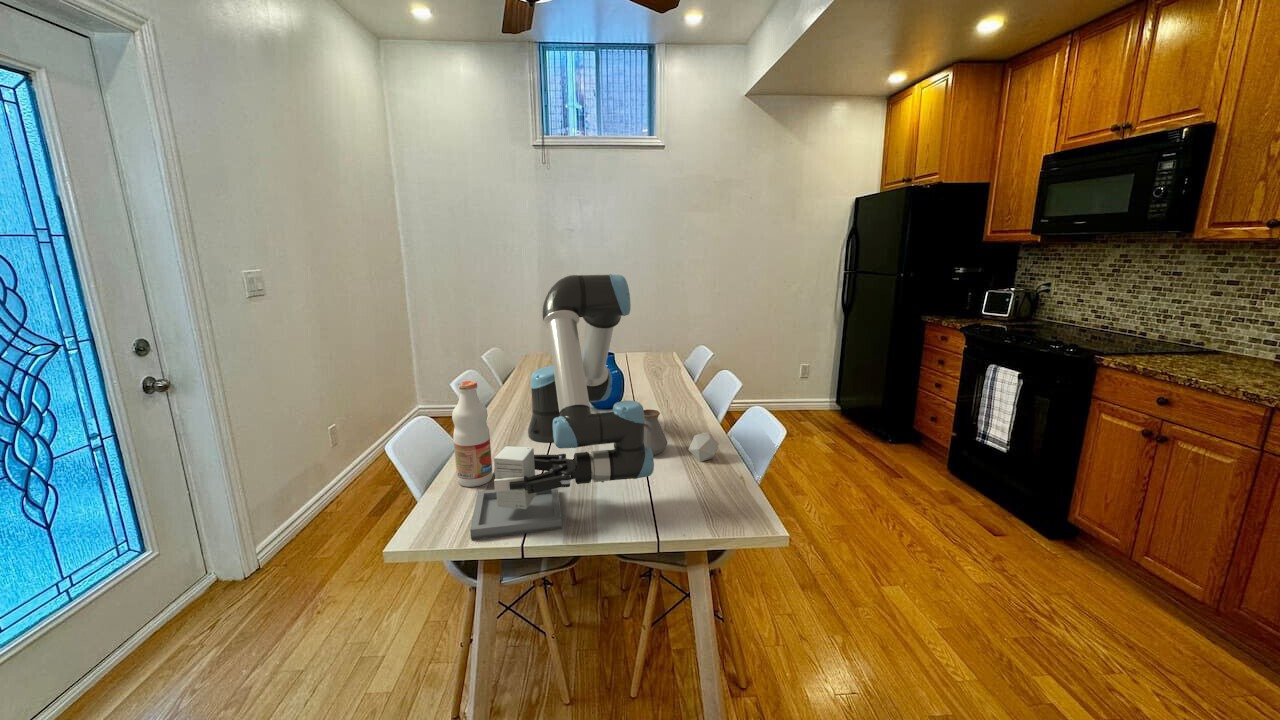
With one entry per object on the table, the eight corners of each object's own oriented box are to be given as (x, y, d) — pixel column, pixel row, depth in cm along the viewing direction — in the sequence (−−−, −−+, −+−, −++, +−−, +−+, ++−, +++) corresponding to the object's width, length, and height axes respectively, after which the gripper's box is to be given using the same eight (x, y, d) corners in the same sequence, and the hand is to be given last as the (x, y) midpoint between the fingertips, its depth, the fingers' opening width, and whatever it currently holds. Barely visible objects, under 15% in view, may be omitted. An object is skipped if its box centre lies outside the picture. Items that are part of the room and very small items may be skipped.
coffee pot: (640, 441, 165) (640, 398, 162) (672, 447, 160) (673, 403, 157) (609, 466, 147) (608, 418, 143) (644, 474, 142) (644, 425, 138)
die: (706, 452, 158) (688, 430, 156) (727, 445, 153) (709, 422, 151) (697, 470, 152) (679, 447, 150) (719, 464, 147) (700, 440, 145)
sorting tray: (478, 500, 127) (478, 491, 127) (557, 492, 132) (557, 483, 131) (471, 539, 110) (470, 529, 110) (561, 529, 114) (561, 519, 114)
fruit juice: (458, 474, 142) (450, 379, 135) (492, 470, 144) (486, 377, 138) (456, 489, 133) (446, 389, 126) (492, 485, 135) (485, 386, 129)
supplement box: (508, 492, 124) (505, 445, 121) (537, 494, 123) (534, 446, 120) (496, 507, 117) (492, 457, 114) (526, 509, 116) (523, 459, 113)
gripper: (596, 502, 113) (493, 514, 108) (586, 462, 133) (499, 470, 129) (596, 472, 111) (491, 482, 106) (585, 436, 132) (497, 443, 127)
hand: (495, 476), depth 118 cm, fingers closed on supplement box, 9 cm apart
